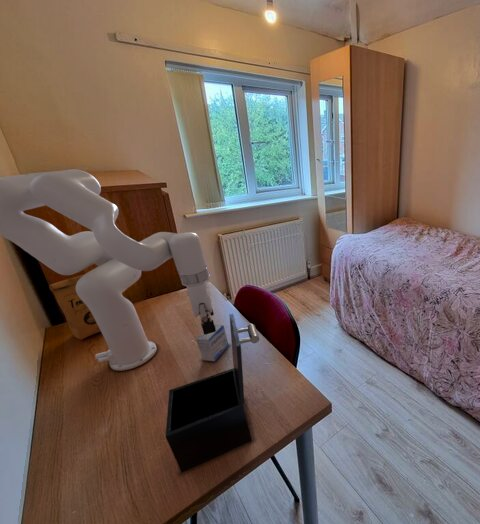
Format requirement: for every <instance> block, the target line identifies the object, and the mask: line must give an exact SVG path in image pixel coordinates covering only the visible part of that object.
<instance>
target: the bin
mask: <svg viewBox="0 0 480 524" xmlns="http://www.w3.org/2000/svg"><path fill="white" fill-rule="evenodd" d="M165 426H166V427H165V435H164V436H165V439H166V441H167V444H168V446H169V448H170V450H171V452H172V454H173V457H174V459H175V461H176V464H177V466H178V468H179V471H180V472H181V474H182V473H184V472H186V471H189V470H191V469H194V468H196V467H197V466H200V465H202V464H205V463H206V462H209V461H211V460H213V459H215V458H218V457H220V456H222V455H224V454H227V453H229V452H231V451H233V450H236V449H237V448H240V447H242V446H245V445H246V444H250V443H251V442H252V441H253V440H252V435H251V434H252V433H251V429H250V424H249V419H248V414H247V410H246V404H245V403H244V404H242V405H241V404H240V399H239V393H238V388H237V383H236V377H235V372H234V367H232V368H230V369H226V370H224V371H221V372H219V373H215V374H212V375H209V376H206V377H203V378H201V379H198V380H195V381H192V382H189V383H186V384H183V385H180V386H177V387H174V388H171V389H169V390H168V402H167V414H166V425H165Z"/></svg>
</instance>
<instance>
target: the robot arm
mask: <svg viewBox="0 0 480 524" xmlns="http://www.w3.org/2000/svg"><path fill="white" fill-rule="evenodd" d="M101 188H102V187H101V184H100V182H99V181H98V179H97V178H96V177H94V175H92V174H91V173H90V172H87V171H84V170H81V169H76V168H72V169H71V168H70V169H64V170H55V171H44V172H32V173H31V172H30V173H23V174H16V175H9V176H7V175H6V176H0V236H1V237H2V238H5V239H6V240H8V241H10V242H12V243H14V244H15V245H16V246H18V247H19V248H21V249H22V250H23V251H24V252H26V253H28V254H29V255H30V256H31V257H32V258H35V259H36V260H37V261H38V262H41V263H42V264H43V265H45V266H46V267H47V268H49V269H50V270H52V271H53V272H55V273H56V274H58V275H61V276H71V275H74V274H78V273H80V272H82V271H84V270H86V269H88V268H90V267H91V266H93V265H96V267H95V268H93V269H91V270H89V271H88V272H86V273H84V274H85V275H84V274H82V275H83V276H82V277H81V278H80V279H79V280H78V282H77V284H76V293H77V294H78V296H79V297H80V299H81V300H82V301H83V302H84V303H85V304H86V306H87V307H88V308H89V310H90V311H91V313H92V315H93V317H94V319H95V321H96V323H97V325H98V326H99V328H100V331H101V332H100V333H101V335H102V337H103V339H104V341H105V343H106V345H107V347H108V350H107V351H103V352H99V353H96V354H95V355H94V357H95V360H96V361H98V363H99V364H103V363H105V362H108V364H109V367H110V369H112V370H113V371H117V372H118V371H128V370H131V369H135V368H138V367H139V366H141V365H143V364H145V363H146V362H148V361H149V360H151V359H152V358H153V357H154V355H155V354H156V352H157V350H158V348H157V345H156V343H155V342H153V341H150V340H148V338H147V335H146V333H145V330H144V328H143V326H142V323H141V320H140V317H139V315H138V312H137V311H136V307H135V305H134V304H133V302H132V301H131V300H129V299H128V298H126V297H125V296H124V295H123V293H124V292H126V290H127V289H129V288H130V287H131V286H133V285H134V284H135V283H137V282H138V281H139V280H140V278H141V277H142V272H149V271H154V270H155V269H157V268H159V267H160V266H162V265H163V264H164V263H166V262H167V261H168V260H171V259H172V258H173V259H172V260H173V261H174V264H175V268H176V270H177V274H178V277H179V280H180V283H181V285H182V286H184V287H186V291H187V296H188V298H189V302H190V306H191V309H192V313H193V316H194V317H195V318H197V317H199V319H200V325H201V329H202V331H203V332H204V334H205V335H206V334H209V333H213V332H215V331H216V329H215V325H214V324H215V323H214V319H212V317H213V316H214V314H215V313H214V309H213V305H212V297H211V292H210V288H209V284H208V282H209V280H210V278H211V275H210V271H209V267H208V264H207V260H206V257H205V253H204V250H203V246H202V242H201V238H200V237H199V235H198V234H197V233H195V232H190V231H189V232H188V231H187V232H181V233H177V232H170V231H169V232H168V231H159V232H156V233H153V234H151V235H150V236H148V237H146V238H143V239H142V240H140V241H137V240H136V239H133V238H131V237H130V236H128V235H126V234H125V233H123V232H122V231H121V230H120V229H119V228H118V227H117V226H116V224H115V223H116V220H117V219H118V216H119V211H120V209H119V207H118V206H117V205H116V204H115V203H113V202H111V201H109V200H107V199H106V198H104V197H102V196H101V193H102V192H101V191H102V189H101ZM45 206H46V207H48V208H49V209H52V210H53V211H55V212H57V213H59V214H61V215H62V216H64V217H66V218H68V219H70V220H71V221H74V222H75V223H77V224H80V225H81V226H82V227H85V228H87V229H88V230H89V231H88V230H87V231H80V232H77V233H74V234H72V235H67V234H66V233H64V232H63V231H61V230H60V229H58V228H57V227H56V226H55V225H53V224H52V223H50V222H48V221H46V220H44V219H42V218H39V217H36V216H33V215H30V214H27V213H25V211H29V210H33V209H37V208H41V207H45ZM203 332H202V333H203Z"/></svg>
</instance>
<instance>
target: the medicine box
mask: <svg viewBox="0 0 480 524" xmlns="http://www.w3.org/2000/svg"><path fill="white" fill-rule="evenodd" d="M214 325H215V329H216V331H215V332H213V333H209V334H206V335H205V334H204V332H202V333H201V334H200V335H199V336H198V337H197V338H196V340H195V341H196V343H197V346H198V350H199V352H200V356H201V359H202V361H208V362H216V361H217V360H218V358H220V356H221V355H222V354H223V353H224V352H225V350H226V349H227V348H228V347H229V342H228V337H227V334H226V329H225V326H224V325H223V324H217V323H214Z"/></svg>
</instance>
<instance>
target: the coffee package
mask: <svg viewBox="0 0 480 524" xmlns="http://www.w3.org/2000/svg"><path fill="white" fill-rule="evenodd" d="M85 274H86V273H84V274H80V275H77V276H74V277H71V278H67V279H63V280H61V281H57V282H55V283H52V284H49V285H48V286H49V290H50V291H51V292H53V295H54V296H55V300H56V302H57V304H58V306H59V307H60V309H61V310H62V313H63V314H64V317H65V320H66V322H67V325H68V328H69V330H70V332H71V333H72V336H73V337H75V338H77V340H84V339H86V338H88V337H90V336H93V335H95V334H98V333H101V331H100V328H99V326H98V325H97V323H96V321H95V319H94V317H93V315H92V313H91V311H90V310H89V308H88V307H87V306H86V304H85V303H84V302H83V301H82V300H81V299H80V297H79V296H78V294H77V293H76V284H77V282H78V280H79V279H80V278H81V277H82V276H83V275H85Z"/></svg>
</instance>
